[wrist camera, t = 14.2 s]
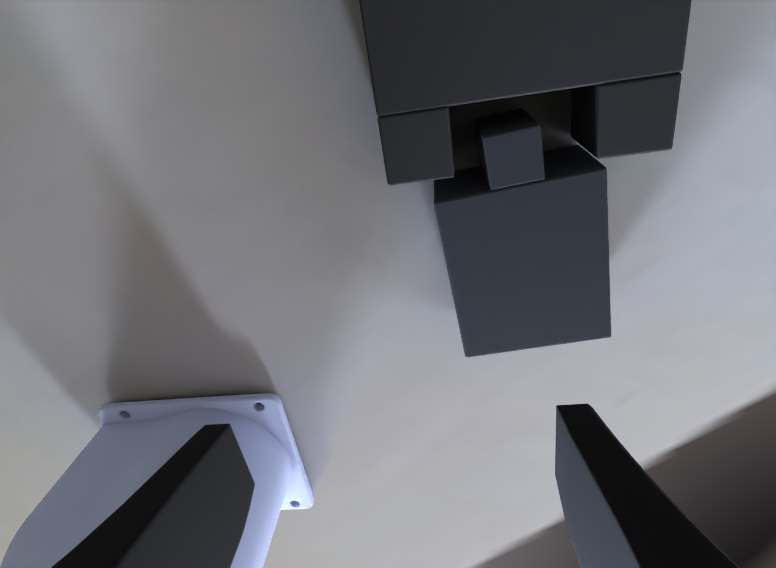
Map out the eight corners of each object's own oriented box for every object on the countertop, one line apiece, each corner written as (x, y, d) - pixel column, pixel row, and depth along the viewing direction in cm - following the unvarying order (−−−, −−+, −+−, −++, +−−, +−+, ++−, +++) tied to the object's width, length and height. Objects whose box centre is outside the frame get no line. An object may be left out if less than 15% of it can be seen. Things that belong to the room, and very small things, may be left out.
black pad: (394, 161, 17) (387, 186, 14) (352, -127, 13) (333, -164, 10) (632, 129, 16) (673, 150, 13) (661, -195, 12) (726, -257, 9)
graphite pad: (461, 313, 20) (465, 358, 17) (424, 129, 16) (422, 150, 14) (586, 294, 19) (611, 338, 16) (576, 94, 15) (606, 108, 13)
